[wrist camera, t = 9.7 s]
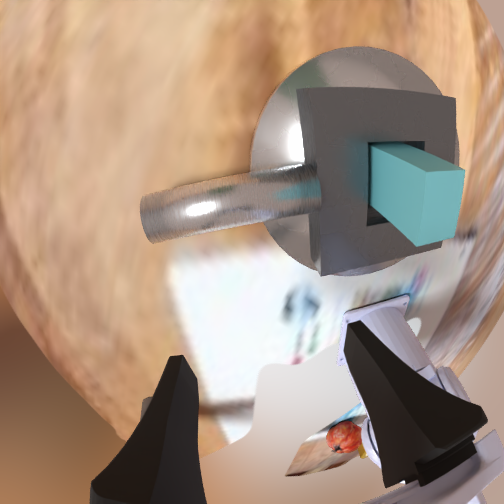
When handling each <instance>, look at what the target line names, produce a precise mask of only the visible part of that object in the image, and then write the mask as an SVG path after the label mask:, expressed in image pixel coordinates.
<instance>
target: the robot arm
mask: <svg viewBox="0 0 504 504" xmlns="http://www.w3.org/2000/svg"><path fill="white" fill-rule="evenodd" d="M409 299H410V297H409V296H408V295H404V296H401V297H397V298H394V299H391V300H388V301H384V302H381V303H377V304H374V305H370V306H367V307H363V308H360V309H356V310H352V311H349V312H346V313H345V314H344V315H343V321H342V329H341V337H340V344H339V351H338V358H337V365H338V366H341V365H344V364H345V365H346V367H347V370H348V372H349V375H350V377H351V380H352V382H353V385H354V387H355V390H356V393H357V395H358V398H359V400H360V402H361V403H362V405H363V406H364V407H365V408H366V409H365V410H366V413H367V416H368V417H367V418H366V419H365V420H364V422H363V425H362V430H361V438H362V443H363V446H364V449H365V451H366V453H367V455H368V456H369V458H370V459H371V460H372V461H373V462H374V463H375V464H376V465H378V466H379V467H380V468H381V469H382V475H383V482H384V485H385V488H388V487H390V486H393V485H395V484H397V483H405V484H406V485H405V486H403V487H400V488H398V489H396V490H393V491H391V492H389V493H386V494H384V495H382V496H379V497H377V498H374V499H371V500H369V501H366V502H363V503H360V504H487V503H486V501H485V498H484V496H483V494H482V490H483V489H484V488H485V487H487V486H488V485H489V484H490V483H491V482H492V481H493V480H494V479H495V478H497V477H498V476H499V475H500V474H501V473H502V472H503V471H504V448H503V446H502V443H501V441H500V438H499V436H498V434H497V432H496V430H495V429H494V430H492V431H491V432H490V433H489V434H487V435H486V436H485V437H483V438H482V439H481V440H479V441H478V442H476V443H473V441H474V439H475V437H476V435H477V433H478V430H479V429H480V428H481V427H482V426H484V425H485V424H486V423H487V422H488V419H487V417H486V415H485V413H484V411H483V409H482V408H481V406H479V405H476V404H473V403H471V401H470V399H469V397H468V395H467V393H466V392H465V390H464V388H463V386H462V384H461V383H460V381H459V380H458V378H457V376H456V375H455V373H454V372H453V371H452V369H451V368H450V367H444V366H441V367H440V368H438V369H436V368H435V367H434V365H433V364H432V362H431V360H430V358H429V357H428V355H427V353H426V352H425V350H424V348H423V347H422V345H421V344H420V342H419V340H418V339H417V337H416V336H415V334H414V333H413V331H412V329H411V328H410V326H409V325H408V323H407V322H406V320H405V319H404V316H405V313H406V309H407V306H408V303H409ZM198 411H199V394H198V382H197V378H196V376H195V374H194V373H193V371H192V369H191V368H190V366H189V364H188V362H187V361H186V359H185V357H184V356H183V355H178V356H170V357H169V359H168V361H167V364H166V366H165V369H164V371H163V374H162V376H161V379H160V381H159V383H158V386H157V388H156V390H155V392H154V395H153V397H152V399H151V401H150V403H149V405H148V407H147V409H146V411H145V413H144V415H143V417H142V418H141V420H140V422H139V424H138V425H137V427H136V429H135V430H134V432H133V434H132V435H131V437H130V438H129V439H128V441H127V442H126V444H125V446H124V447H123V448H122V449H121V451H120V452H119V453H118V454H117V455H116V457H115V458H114V459H113V460H112V461H111V462H110V464H109V465H108V466H107V467H106V468H105V469H104V470H103V471H102V472H101V473H100V474H99V475H98V476H97V477H96V478H95V479H94V480H92V482H91V488H90V504H207V502H206V498H205V493H204V488H203V483H202V477H201V470H200V463H199V454H198Z"/></svg>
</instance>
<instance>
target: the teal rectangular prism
mask: <svg viewBox="0 0 504 504" xmlns="http://www.w3.org/2000/svg"><path fill="white" fill-rule="evenodd" d="M464 177H465V170H464V169H462V168H460V167H458V166H456V165H454V164H452V163H450V162H448V161H446V160H443V159H441V158H439V157H437V156H434V155H432V154H430V153H427V152H425V151H422V150H420V149H418V148H415V147H412V146H410V145H407V144H405V143H402V142H399V141H386V142H368V203H369V204H370V205H371V206H372V207H374V208H375V209H376V210H377V211H378V212H379V213H380V214H382V215H383V216H384V217H385V218H386V219H387V220H388V221H390V222H391V223H392V224H393V225H394V226H395V227H396V228H397V229H398V230H399V231H401V232H402V233H403V234H404V235H405V236H406V237H407V238H408V239H409V240H410V241H411V242H412V243H413V244H414V245H415V246H416V247H418V246H422V245H426V244H430V243H434V242H438V241H442V240H446V239H449V238H453V237H454V235H455V230H456V226H457V221H458V216H459V210H460V205H461V199H462V192H463V185H464Z"/></svg>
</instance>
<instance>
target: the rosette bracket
mask: <svg viewBox="0 0 504 504" xmlns="http://www.w3.org/2000/svg"><path fill="white" fill-rule="evenodd" d="M386 141H399V142H402V143H405V144H407V145H410V146H412V147H415V148H418V149H420V150H422V151H425V152H427V153H430V154H432V155H434V156H437V157H439V158H441V159H443V160H446V161H448V162H450V163H452V164H454V165H456V166H458V167H459V141H458V135H457V129H456V98H453V97H448V96H443V95H442V93H441V92H440V90H439V89H438V87H437V86H436V85H435V84H434V82H433V81H432V80H431V79H430V78H429V77H428V76H427V75H426V74H425V73H424V72H423V71H422V70H421V69H420V68H418V67H417V66H416V65H414V64H413V63H412V62H410V61H408V60H406V59H405V58H403V57H401V56H399V55H397V54H394V53H392V52H389V51H386V50H382V49H378V48H372V47H355V46H354V47H346V48H339V49H336V50H332V51H329V52H326V53H323V54H320V55H317V56H315V57H313V58H312V59H310V60H308V61H306V62H304V63H302V64H301V65H300V66H298V67H297V68H295V69H294V70H293V71H291V72H290V73H289V74H288V75H287V76H286V77H285V78H284V79H283V80H282V81H281V82H280V83H279V84H278V85H277V87H276V88H275V89H274V91H273V92H272V94H271V95H270V96H269V98H268V99H267V101H266V103H265V105H264V107H263V109H262V111H261V113H260V115H259V118H258V121H257V124H256V126H255V129H254V132H253V138H252V143H251V149H250V166H249V168H250V172H248V173H242V174H237V175H232V176H226V177H221V178H216V179H211V180H207V181H202V182H197V183H193V184H188V185H184V186H180V187H175V188H171V189H167V190H163V191H159V192H155V193H151V194H147V195H144V196H143V197H142V199H141V203H140V215H141V221H142V225H143V229H144V232H145V234H146V236H147V238H148V240H149V241H150V242H151V243H153V244H154V243H159V242H163V241H168V240H173V239H178V238H183V237H187V236H192V235H197V234H202V233H207V232H212V231H217V230H222V229H228V228H233V227H238V226H243V225H249V224H254V223H259V222H264V224H265V226H266V228H267V230H268V231H269V233H270V235H271V236H272V237H273V239H274V240H275V241H276V242H277V244H278V245H279V246H280V247H281V248H282V249H283V250H284V251H285V252H286V253H287V254H288V255H289V256H291V257H292V258H294V259H295V260H296V261H298V262H299V263H301V264H303V265H305V266H307V267H309V268H311V269H313V270H316V271H318V272H319V274H320V276H326V275H330V274H331V275H338V276H356V275H364V274H369V273H373V272H376V271H379V270H382V269H385V268H387V267H389V266H392V265H394V264H395V263H397V262H399V261H401V260H402V259H404V258H405V257H407V256H410V255H414V254H418V253H422V252H426V251H429V250H433V249H437V248H441V245H442V241H443V240H442V241H438V242H434V243H430V244H426V245H422V246H418V247H416V246H415V245H414V244H413V243H412V242H411V241H410V240H409V239H408V238H407V237H406V236H405V235H404V234H403V233H402V232H401V231H399V230H398V229H397V228H396V227H395V226H394V225H393V224H392V223H391V222H390V221H388V220H387V219H386V218H385V217H384V216H383V215H382V214H380V213H379V212H378V211H377V210H376V209H375V208H374V207H372V206H371V205H370V204H369V203H368V142H386Z"/></svg>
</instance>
